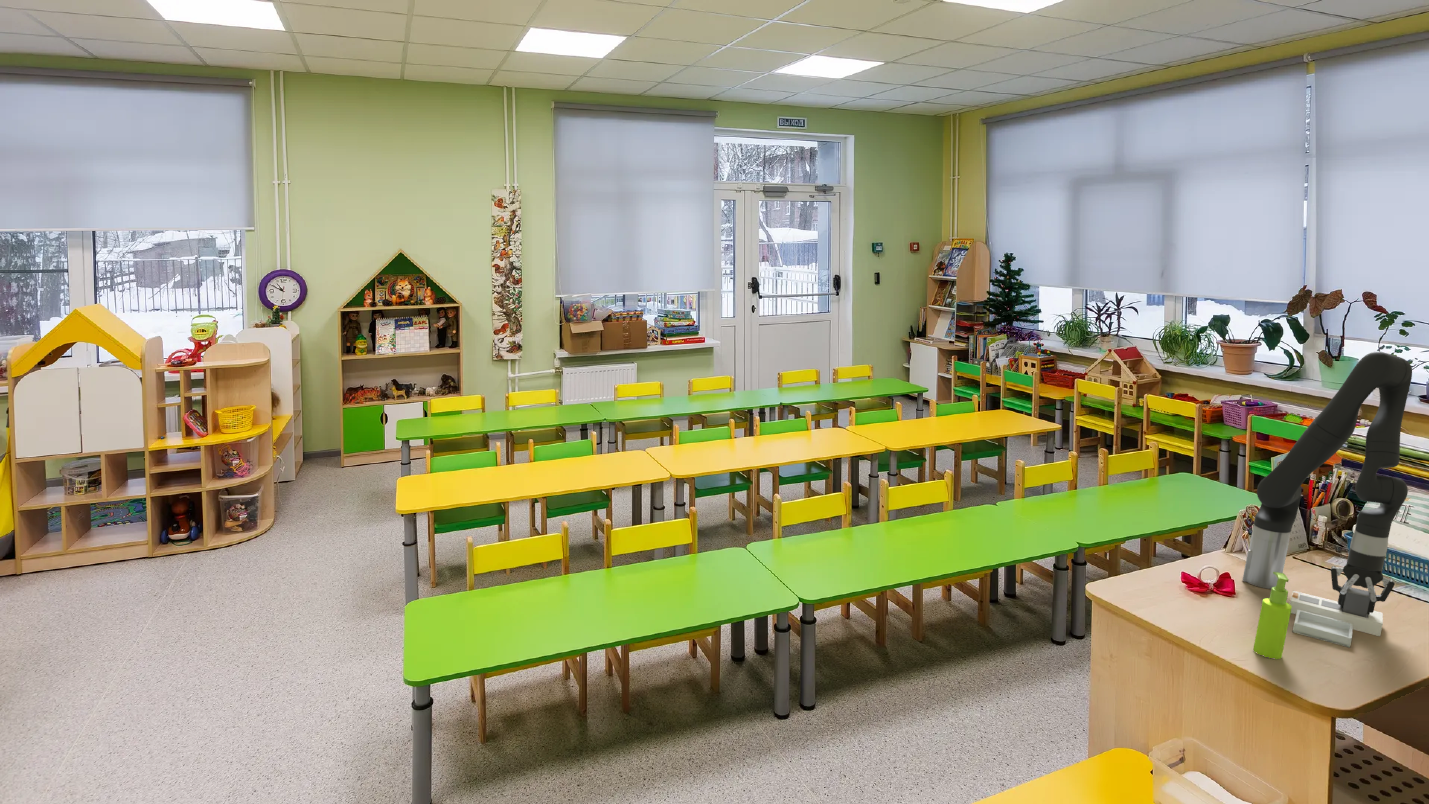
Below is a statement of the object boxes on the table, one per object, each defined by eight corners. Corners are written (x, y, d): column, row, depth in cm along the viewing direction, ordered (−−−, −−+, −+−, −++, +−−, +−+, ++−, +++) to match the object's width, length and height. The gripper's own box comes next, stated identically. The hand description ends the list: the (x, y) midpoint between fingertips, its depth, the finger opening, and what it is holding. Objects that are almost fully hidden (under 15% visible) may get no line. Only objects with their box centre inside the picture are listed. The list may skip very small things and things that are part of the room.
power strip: (1287, 612, 231) (1290, 598, 230) (1290, 602, 238) (1293, 588, 237) (1379, 636, 219) (1383, 621, 218) (1380, 624, 226) (1383, 610, 225)
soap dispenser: (1276, 648, 209) (1291, 572, 205) (1284, 661, 202) (1300, 583, 198) (1249, 643, 211) (1264, 568, 207) (1256, 656, 204) (1271, 578, 200)
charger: (1341, 616, 225) (1346, 591, 224) (1342, 608, 230) (1347, 584, 229) (1364, 622, 222) (1370, 597, 221) (1365, 613, 227) (1370, 589, 226)
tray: (1292, 632, 219) (1294, 623, 218) (1295, 618, 227) (1297, 609, 227) (1349, 647, 211) (1351, 638, 211) (1350, 632, 220) (1352, 623, 220)
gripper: (1333, 546, 223) (1321, 606, 226) (1403, 561, 215) (1388, 623, 218) (1335, 539, 229) (1322, 597, 232) (1402, 553, 220) (1388, 614, 224)
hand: (1354, 609), depth 225 cm, fingers closed on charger, 5 cm apart
